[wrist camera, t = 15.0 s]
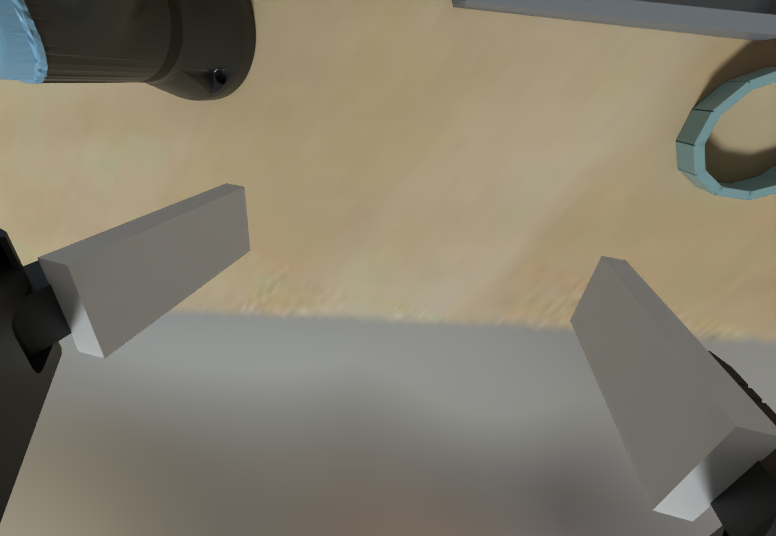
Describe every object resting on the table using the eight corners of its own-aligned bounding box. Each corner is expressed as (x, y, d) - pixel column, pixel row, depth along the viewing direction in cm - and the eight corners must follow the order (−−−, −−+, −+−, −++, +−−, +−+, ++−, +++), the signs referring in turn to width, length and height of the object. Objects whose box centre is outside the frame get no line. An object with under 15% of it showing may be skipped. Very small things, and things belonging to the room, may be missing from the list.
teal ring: (655, 180, 35) (670, 187, 32) (717, 60, 30) (740, 58, 27) (769, 198, 34) (794, 208, 31) (854, 77, 28) (893, 76, 26)
